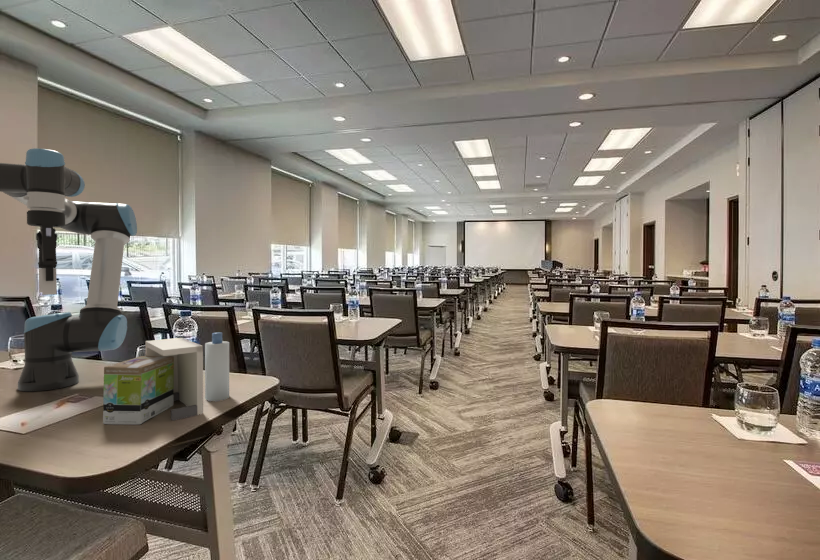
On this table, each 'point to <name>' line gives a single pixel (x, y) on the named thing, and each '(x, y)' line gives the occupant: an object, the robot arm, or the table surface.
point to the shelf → (183, 367)
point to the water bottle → (216, 368)
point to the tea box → (137, 389)
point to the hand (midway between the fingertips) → (47, 293)
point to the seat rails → (182, 410)
